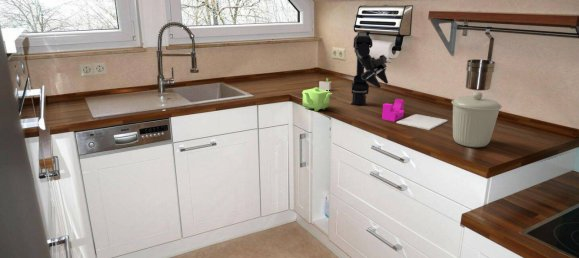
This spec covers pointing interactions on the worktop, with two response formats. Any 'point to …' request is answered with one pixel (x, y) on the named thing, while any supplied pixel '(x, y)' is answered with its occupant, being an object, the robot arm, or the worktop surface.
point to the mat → (422, 121)
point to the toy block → (393, 110)
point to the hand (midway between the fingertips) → (383, 85)
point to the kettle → (316, 99)
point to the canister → (474, 120)
